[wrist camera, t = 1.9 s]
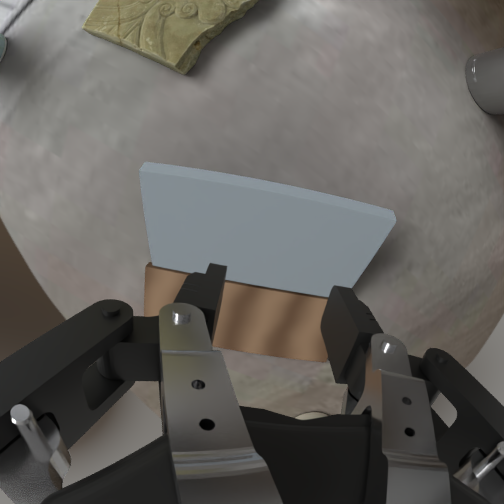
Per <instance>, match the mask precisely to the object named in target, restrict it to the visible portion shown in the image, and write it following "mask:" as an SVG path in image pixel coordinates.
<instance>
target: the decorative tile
mask: <svg viewBox="0 0 504 504" xmlns="http://www.w3.org/2000/svg"><path fill="white" fill-rule="evenodd" d="M258 1H259V0H99V1H98V3H97V4H96V6H95V7H94V9H93V10H92V12H91V13H90V15H89V16H88V18H87V19H86V21H85V22H84V24H83V26H82V28H83V30H85V31H86V32H88V33H90V34H92V35H94V36H97V37H99V38H103V39H105V40H107V41H110V42H112V43H114V44H117V45H120V46H122V47H125V48H127V49H130V50H132V51H134V52H136V53H138V54H140V55H142V56H144V57H146V58H149V59H151V60H153V61H156V62H158V63H160V64H162V65H164V66H166V67H168V68H170V69H172V70H174V71H176V72H178V73H180V74H184V75H185V74H186V73H187V72H188V71H189V70H190V69H191V68H192V67H193V66H194V64H195V63H196V61H197V59H198V57H199V55H200V53H201V50H202V49H203V48H204V47H205V45H206V44H208V43H209V42H210V41H211V40H212V39H213V38H214V37H215V36H217V35H219V34H221V32H222V31H223V29H224V28H225V27H226V26H227V25H228V24H230V23H231V22H233V21H235V20H238V19H240V18H242V17H243V16H244V15H245V13H246V11H247V10H248V9H250V8H252V7H253V6H254V4H256V3H257V2H258Z"/></svg>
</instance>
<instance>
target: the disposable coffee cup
mask: <svg viewBox="0 0 504 504" xmlns="http://www.w3.org/2000/svg"><path fill="white" fill-rule="evenodd" d="M6 47H7V40H6V38H5V37H4V36H3V35H2V34H0V61H1V60H2V58H3V56H4V53H5V51H6Z"/></svg>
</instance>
